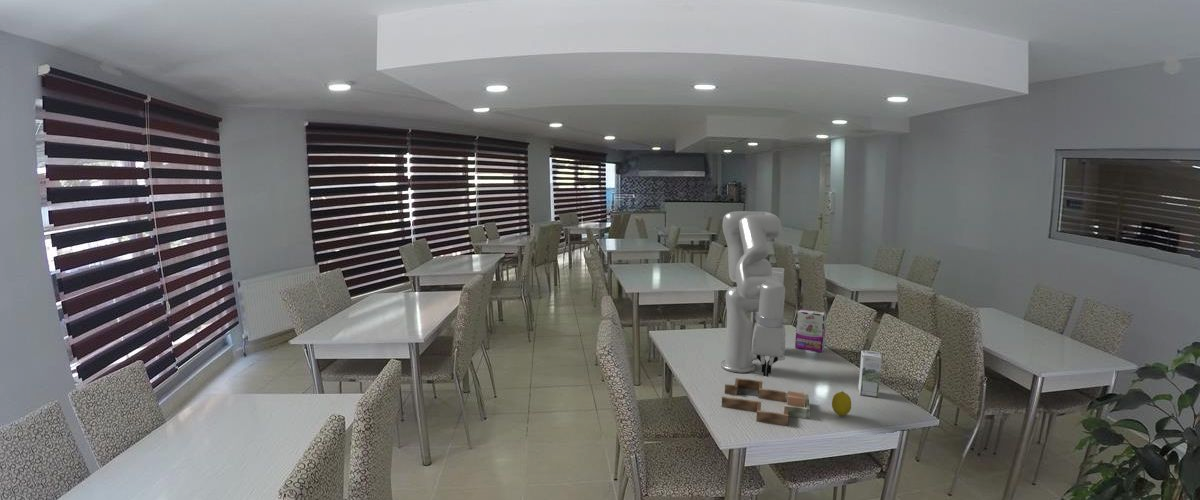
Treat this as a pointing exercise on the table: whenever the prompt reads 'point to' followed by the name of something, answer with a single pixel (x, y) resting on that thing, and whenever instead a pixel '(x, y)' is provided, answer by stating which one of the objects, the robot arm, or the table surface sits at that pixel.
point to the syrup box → (869, 373)
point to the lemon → (841, 403)
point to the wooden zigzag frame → (752, 389)
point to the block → (795, 399)
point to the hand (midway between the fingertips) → (765, 374)
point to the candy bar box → (810, 330)
